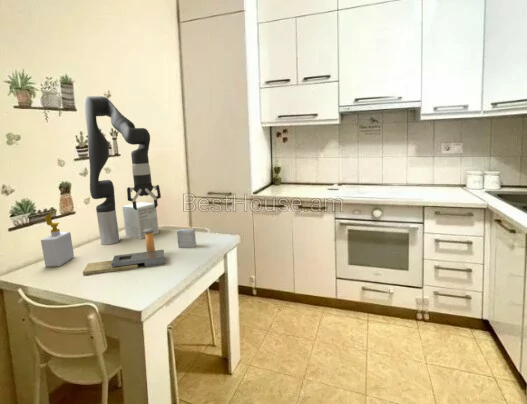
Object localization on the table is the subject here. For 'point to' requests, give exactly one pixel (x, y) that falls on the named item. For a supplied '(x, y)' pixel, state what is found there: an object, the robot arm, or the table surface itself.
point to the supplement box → (140, 219)
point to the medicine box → (186, 238)
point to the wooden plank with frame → (126, 262)
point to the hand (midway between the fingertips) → (145, 208)
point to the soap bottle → (56, 246)
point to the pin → (149, 239)
